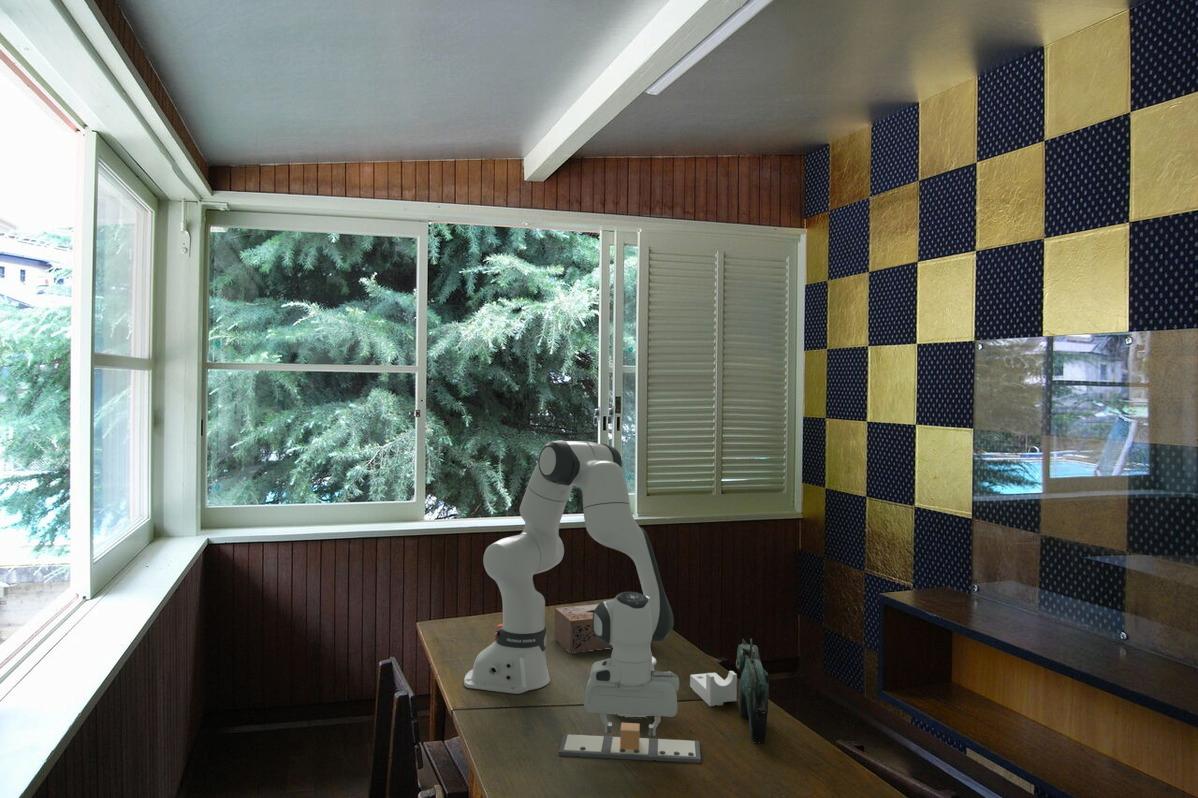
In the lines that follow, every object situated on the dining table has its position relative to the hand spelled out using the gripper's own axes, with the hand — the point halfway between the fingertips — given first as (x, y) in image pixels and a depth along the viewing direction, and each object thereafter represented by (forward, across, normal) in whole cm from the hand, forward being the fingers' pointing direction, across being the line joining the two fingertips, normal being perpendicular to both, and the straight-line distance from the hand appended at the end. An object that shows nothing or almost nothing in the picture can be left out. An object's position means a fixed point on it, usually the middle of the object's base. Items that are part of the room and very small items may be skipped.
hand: (630, 733), depth 178 cm
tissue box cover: (+4, +12, -73) cm, 74 cm away
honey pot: (+4, 0, -24) cm, 24 cm away
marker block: (+3, 0, 0) cm, 3 cm away
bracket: (+4, -20, -34) cm, 39 cm away
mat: (+4, 0, 0) cm, 4 cm away
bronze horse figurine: (+4, -28, -16) cm, 32 cm away
